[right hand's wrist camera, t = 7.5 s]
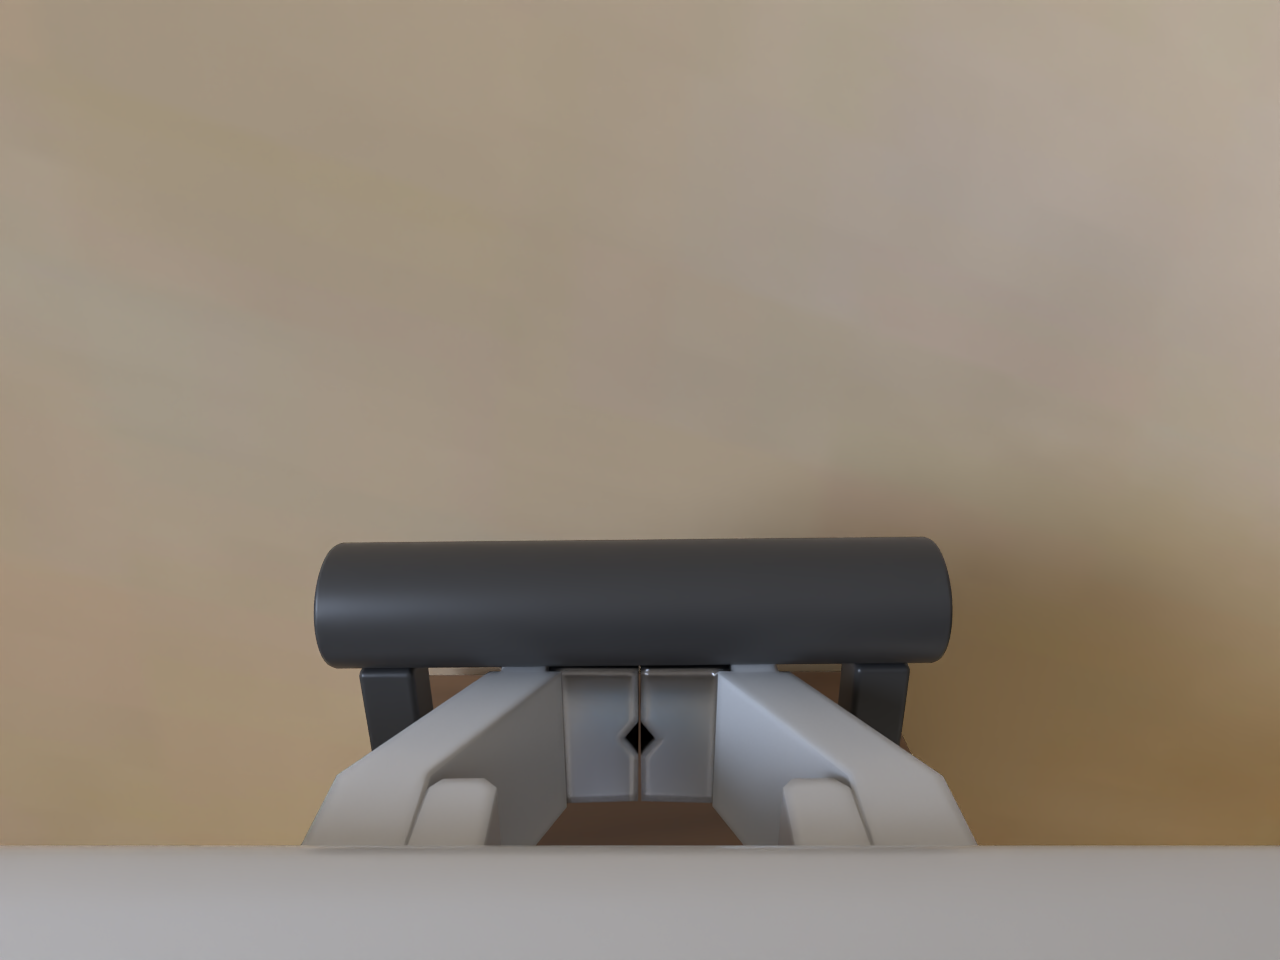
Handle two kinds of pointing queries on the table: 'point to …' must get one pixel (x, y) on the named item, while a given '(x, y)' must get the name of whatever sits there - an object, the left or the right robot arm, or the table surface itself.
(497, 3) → the table surface
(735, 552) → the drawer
